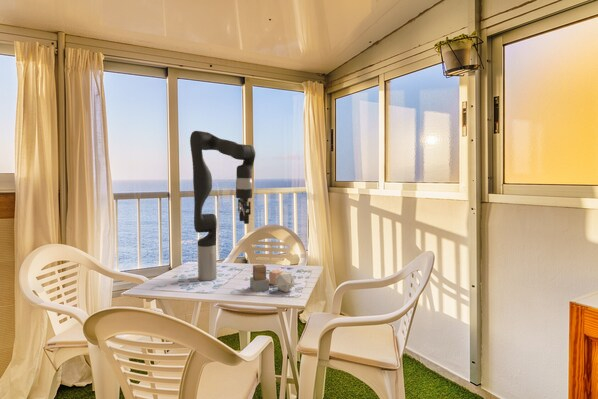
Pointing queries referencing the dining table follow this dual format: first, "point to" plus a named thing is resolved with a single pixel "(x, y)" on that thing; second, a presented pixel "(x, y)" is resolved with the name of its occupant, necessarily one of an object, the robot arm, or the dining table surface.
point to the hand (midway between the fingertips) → (244, 222)
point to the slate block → (259, 284)
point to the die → (284, 282)
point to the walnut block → (259, 272)
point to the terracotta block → (273, 276)
